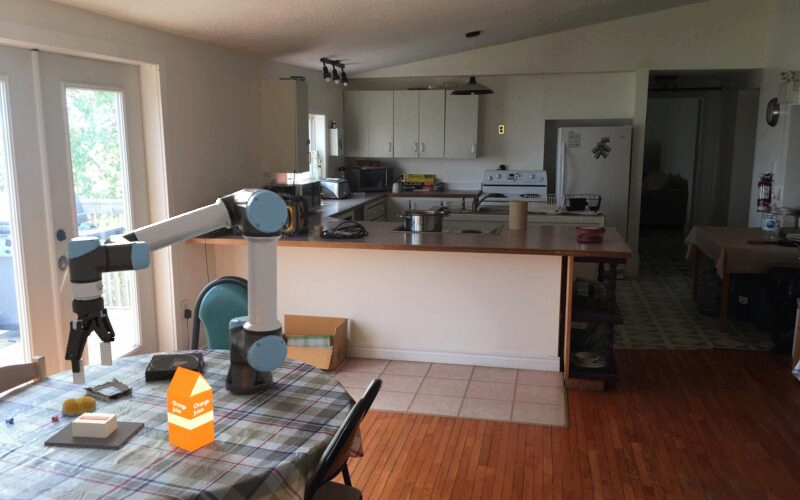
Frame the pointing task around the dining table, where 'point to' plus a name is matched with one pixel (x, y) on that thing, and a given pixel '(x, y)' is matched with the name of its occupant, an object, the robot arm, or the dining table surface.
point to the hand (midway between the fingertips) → (93, 374)
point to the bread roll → (78, 406)
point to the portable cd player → (172, 365)
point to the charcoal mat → (112, 441)
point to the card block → (94, 425)
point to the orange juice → (190, 410)
